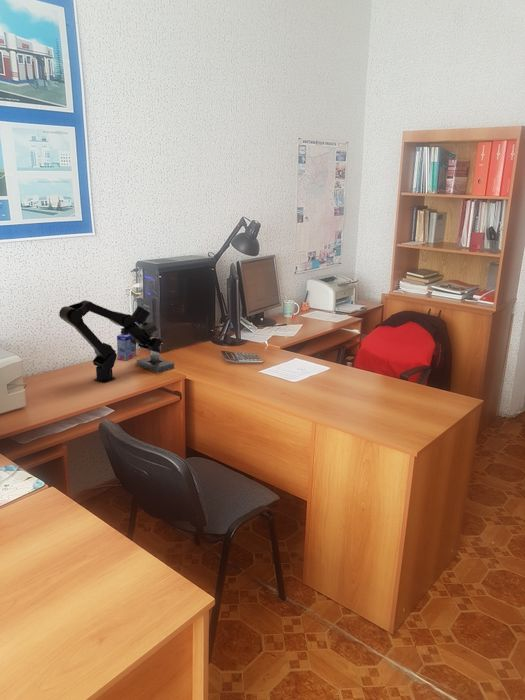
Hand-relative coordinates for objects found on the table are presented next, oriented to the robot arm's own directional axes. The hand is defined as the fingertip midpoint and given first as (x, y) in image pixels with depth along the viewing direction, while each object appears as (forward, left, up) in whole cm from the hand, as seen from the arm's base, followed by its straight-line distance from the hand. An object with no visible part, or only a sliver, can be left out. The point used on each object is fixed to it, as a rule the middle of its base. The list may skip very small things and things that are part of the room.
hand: (157, 350), depth 262 cm
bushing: (-1, 0, -7) cm, 7 cm away
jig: (-1, 0, -7) cm, 8 cm away
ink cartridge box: (+3, +21, -8) cm, 23 cm away
